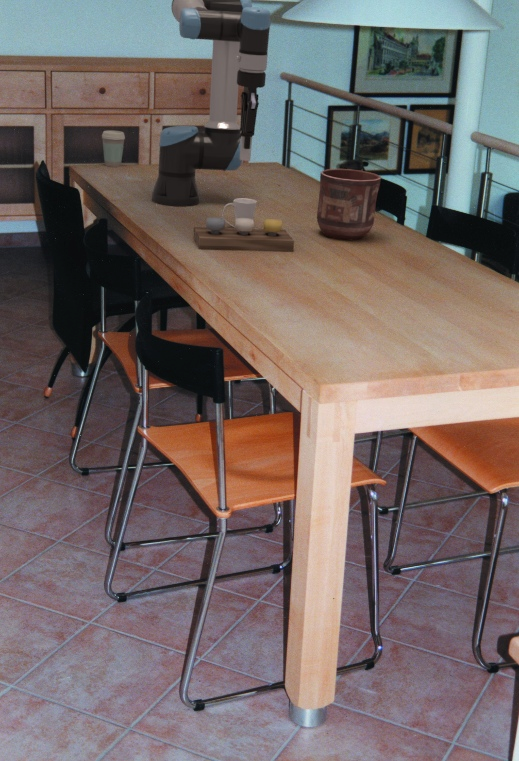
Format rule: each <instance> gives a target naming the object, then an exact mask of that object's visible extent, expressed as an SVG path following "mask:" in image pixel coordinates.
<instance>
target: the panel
mask: <svg viewBox="0 0 519 761" xmlns="http://www.w3.org/2000/svg"><path fill="white" fill-rule="evenodd" d="M193 240H194V241H195V244H196V245H197V246H196V247H198V249H199V250H218V251H219V250H220V251H221V250H223V251H225V250H226V251H229V250H230V251H257V252H258V251H259V252H260V251H262V252H263V251H265V252H271V251H272V252H294V250H295V239H293V238H292V237H291V235H290V234H289V233H288V231H287V230H286V229H282V230H281V232H277V233H276V236H268V231H265V230H263V228H253V231H248V235H239V230H236V229H235V228H234V227H224V230H220V231H219V235H215V234H211V230H209V229H207V228H206V227H205V226H204V227H203V226H194V227H193Z"/></svg>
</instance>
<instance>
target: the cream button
mask: <svg viewBox="0 0 519 761" xmlns="http://www.w3.org/2000/svg"><path fill="white" fill-rule="evenodd" d="M254 221H255V220H254V219H253V220H252V219H248V218H237V219H236V221H235V222H234V226H235V229H236V230H239V235H248V231H253V229H254V224H255V222H254Z"/></svg>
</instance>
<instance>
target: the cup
mask: <svg viewBox="0 0 519 761" xmlns="http://www.w3.org/2000/svg"><path fill="white" fill-rule="evenodd" d="M257 204H258V201H257V200H256V199H253V198H246V197H241V198H239V197H238V198H234V199H233V202H229V203H226V204H225V205H224V207H223V209H222V214H221V215H222V218H223V219H225V223H227V224H228V225H229V226H231V228H235V225H233V224H231V223H230V222H229V221H228V220H227V219H226V217H225V216H224V213H225V209H226V208H227V207H228V206H233V210H234V212H233V213H234V220H235V221H236V219H237V218H248V219H252V220H254V218H255V217H254V216H255V213H256V209H257Z"/></svg>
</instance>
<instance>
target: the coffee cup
mask: <svg viewBox="0 0 519 761" xmlns="http://www.w3.org/2000/svg"><path fill="white" fill-rule="evenodd" d="M101 139H102V147H103V148H102V149H103V160H104V166H106V167H111V168H117V167H121V166H122V158H123V152H124V151H123V150H124V144H125V139H126V136H125V133H124V132H123V131H120V130H104V131H103V132H102V134H101Z"/></svg>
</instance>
